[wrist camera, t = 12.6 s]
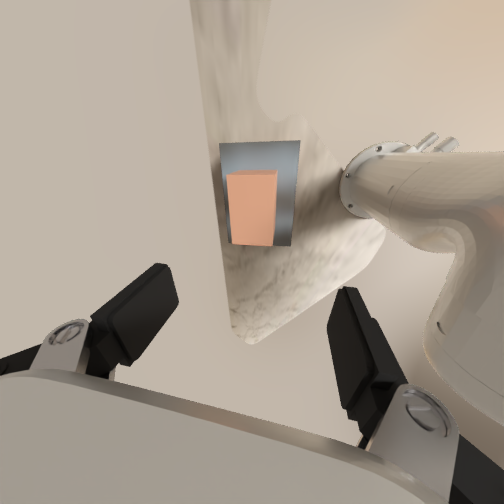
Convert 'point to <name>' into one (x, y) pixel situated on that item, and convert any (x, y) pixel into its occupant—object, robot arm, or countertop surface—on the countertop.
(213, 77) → the countertop surface
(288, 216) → the shiny metal block
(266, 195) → the terracotta brick
